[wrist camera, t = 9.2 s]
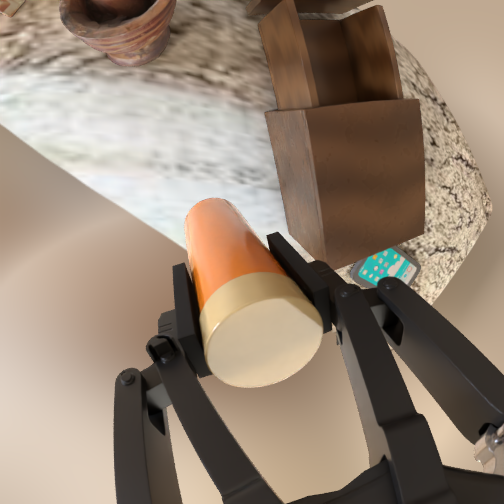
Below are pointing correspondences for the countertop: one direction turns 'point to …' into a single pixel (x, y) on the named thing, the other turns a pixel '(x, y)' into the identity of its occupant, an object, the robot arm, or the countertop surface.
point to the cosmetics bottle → (10, 6)
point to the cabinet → (351, 176)
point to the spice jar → (246, 301)
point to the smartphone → (385, 268)
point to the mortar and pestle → (121, 27)
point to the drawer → (327, 53)
